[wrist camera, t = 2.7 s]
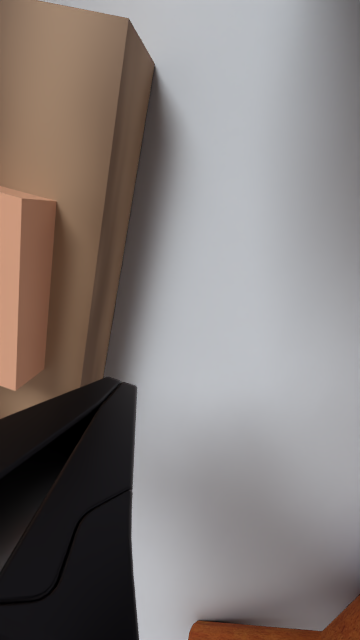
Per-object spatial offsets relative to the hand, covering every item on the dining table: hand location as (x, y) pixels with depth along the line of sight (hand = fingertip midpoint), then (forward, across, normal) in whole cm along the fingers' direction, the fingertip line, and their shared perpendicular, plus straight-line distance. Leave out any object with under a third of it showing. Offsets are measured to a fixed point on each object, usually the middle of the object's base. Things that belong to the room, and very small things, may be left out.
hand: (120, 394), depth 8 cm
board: (+8, +9, 0) cm, 12 cm away
